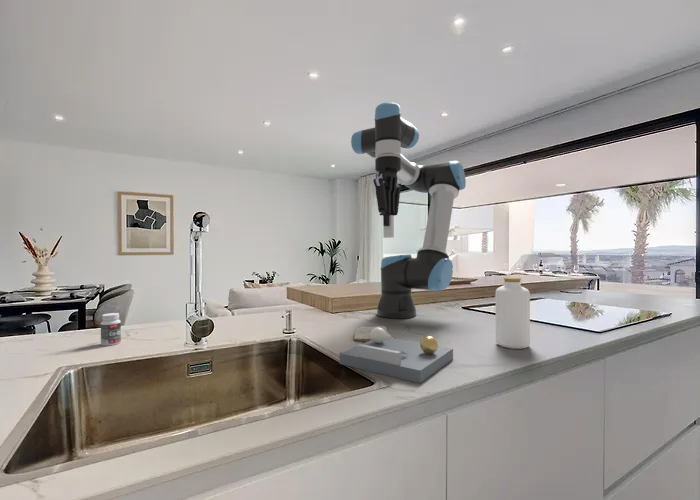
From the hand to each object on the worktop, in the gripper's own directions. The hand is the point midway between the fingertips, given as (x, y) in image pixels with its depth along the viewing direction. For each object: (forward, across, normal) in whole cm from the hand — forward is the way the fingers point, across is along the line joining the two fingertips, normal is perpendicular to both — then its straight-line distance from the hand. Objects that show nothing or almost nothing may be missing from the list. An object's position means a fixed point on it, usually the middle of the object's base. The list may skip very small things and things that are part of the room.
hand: (388, 237), depth 105 cm
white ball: (+25, +16, +6) cm, 30 cm away
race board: (+29, +19, +13) cm, 37 cm away
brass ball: (+25, +17, +20) cm, 36 cm away
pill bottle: (+30, +51, -61) cm, 85 cm away
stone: (+30, +3, -3) cm, 30 cm away
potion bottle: (+30, -10, +32) cm, 45 cm away
